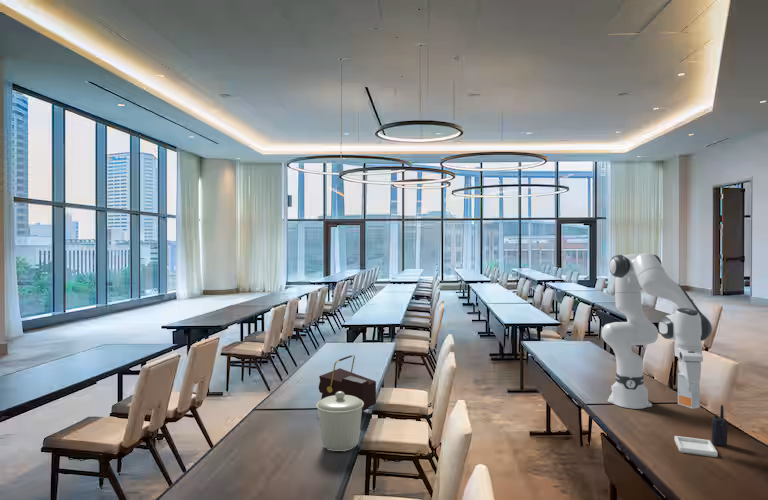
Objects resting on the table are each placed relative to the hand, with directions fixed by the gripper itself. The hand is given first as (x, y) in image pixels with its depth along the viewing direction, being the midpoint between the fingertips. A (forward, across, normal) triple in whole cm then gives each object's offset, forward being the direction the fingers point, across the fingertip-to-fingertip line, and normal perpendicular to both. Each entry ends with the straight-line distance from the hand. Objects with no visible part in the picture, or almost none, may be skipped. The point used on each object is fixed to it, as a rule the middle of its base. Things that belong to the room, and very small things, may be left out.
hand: (688, 389), depth 186 cm
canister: (+22, +47, -123) cm, 133 cm away
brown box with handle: (+20, +12, -136) cm, 138 cm away
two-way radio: (+22, -6, +11) cm, 25 cm away
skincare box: (+7, 0, 0) cm, 7 cm away
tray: (+22, +1, +2) cm, 22 cm away
